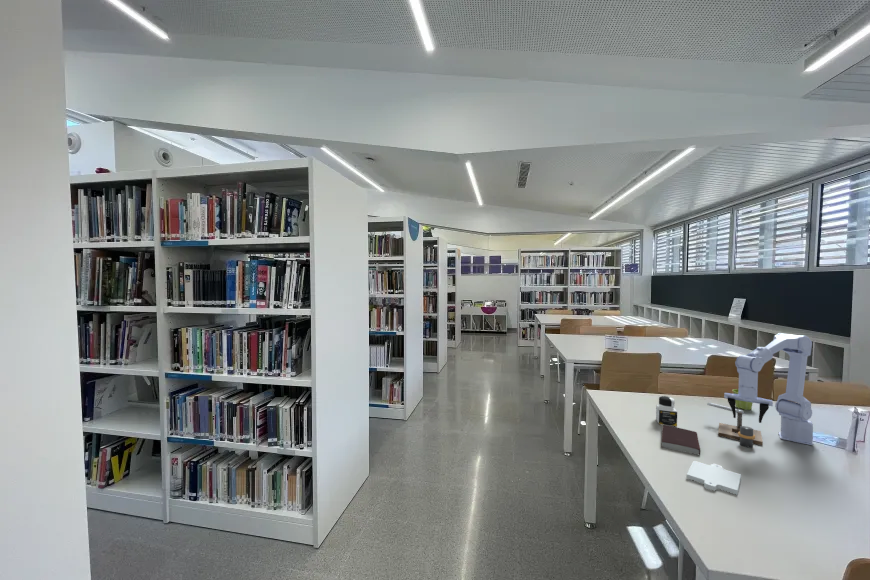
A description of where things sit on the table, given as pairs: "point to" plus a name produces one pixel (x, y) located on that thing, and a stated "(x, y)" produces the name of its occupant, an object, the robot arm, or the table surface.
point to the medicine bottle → (666, 411)
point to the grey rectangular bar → (725, 407)
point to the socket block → (730, 431)
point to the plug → (746, 436)
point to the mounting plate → (714, 477)
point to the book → (680, 439)
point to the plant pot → (742, 402)
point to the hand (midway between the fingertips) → (747, 419)
